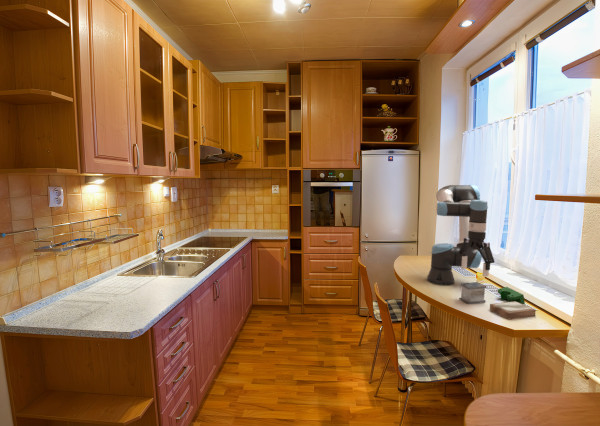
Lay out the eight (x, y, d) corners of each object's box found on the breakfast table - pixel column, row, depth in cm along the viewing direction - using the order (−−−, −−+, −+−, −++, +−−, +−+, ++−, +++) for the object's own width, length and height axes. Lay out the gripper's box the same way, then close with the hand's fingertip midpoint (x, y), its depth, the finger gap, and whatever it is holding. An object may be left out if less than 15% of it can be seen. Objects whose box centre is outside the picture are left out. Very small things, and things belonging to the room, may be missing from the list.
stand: (489, 310, 142) (490, 303, 142) (514, 307, 146) (515, 300, 146) (508, 319, 133) (509, 312, 132) (535, 316, 136) (535, 309, 136)
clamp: (501, 306, 157) (494, 289, 159) (512, 304, 157) (504, 286, 160) (516, 307, 145) (507, 288, 148) (527, 304, 145) (519, 285, 148)
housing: (459, 299, 155) (460, 283, 154) (476, 298, 157) (477, 282, 156) (468, 304, 149) (469, 287, 148) (485, 302, 152) (486, 285, 151)
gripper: (452, 227, 161) (450, 265, 163) (492, 235, 136) (488, 280, 139) (464, 227, 162) (461, 265, 164) (505, 234, 138) (502, 279, 140)
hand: (474, 272), depth 151 cm, fingers open, 13 cm apart
